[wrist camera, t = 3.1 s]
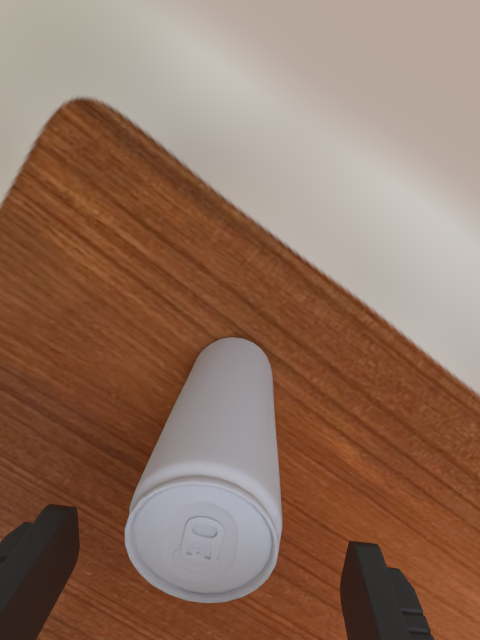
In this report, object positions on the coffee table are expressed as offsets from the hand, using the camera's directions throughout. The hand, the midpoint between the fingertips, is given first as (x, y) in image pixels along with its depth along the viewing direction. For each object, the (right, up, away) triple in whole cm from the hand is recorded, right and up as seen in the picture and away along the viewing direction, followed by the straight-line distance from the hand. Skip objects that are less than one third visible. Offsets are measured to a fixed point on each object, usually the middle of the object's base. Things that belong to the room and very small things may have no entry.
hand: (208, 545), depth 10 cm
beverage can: (+1, +4, +12) cm, 12 cm away
